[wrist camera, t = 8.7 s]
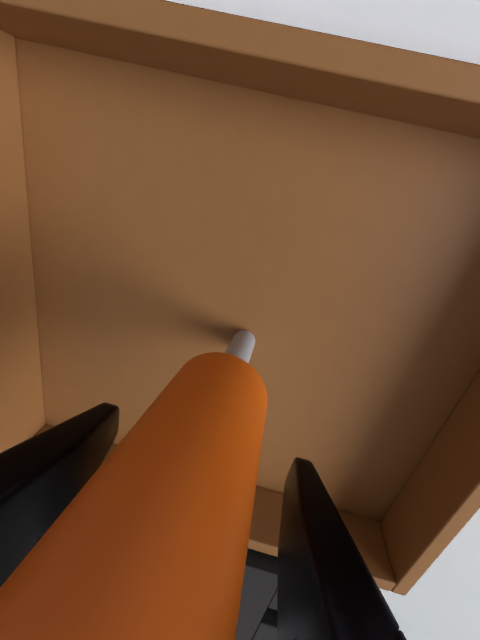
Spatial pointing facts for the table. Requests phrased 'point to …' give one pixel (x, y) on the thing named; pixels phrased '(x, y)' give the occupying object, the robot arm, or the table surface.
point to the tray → (250, 248)
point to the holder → (258, 598)
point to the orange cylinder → (155, 520)
